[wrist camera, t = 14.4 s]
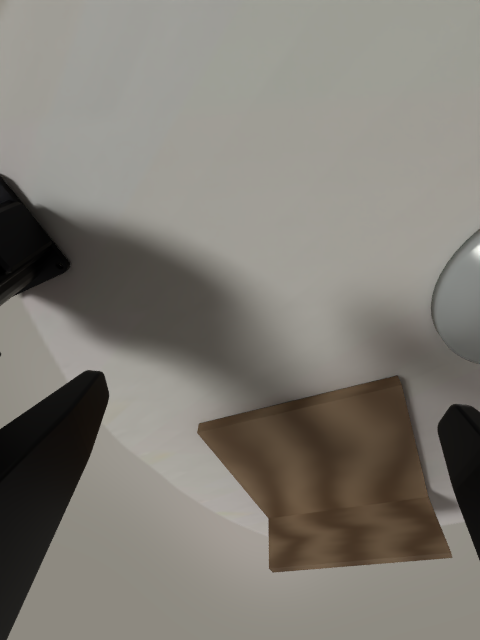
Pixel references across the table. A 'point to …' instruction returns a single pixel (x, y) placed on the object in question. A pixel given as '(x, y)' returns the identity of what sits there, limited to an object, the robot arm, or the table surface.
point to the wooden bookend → (334, 478)
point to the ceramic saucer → (460, 301)
